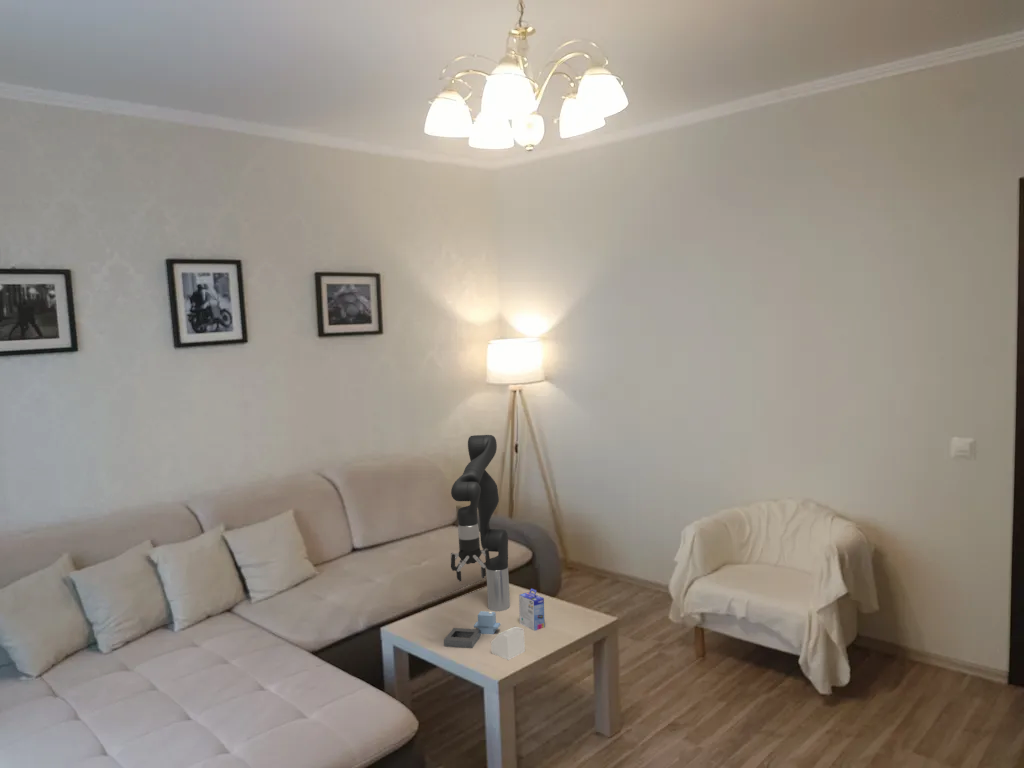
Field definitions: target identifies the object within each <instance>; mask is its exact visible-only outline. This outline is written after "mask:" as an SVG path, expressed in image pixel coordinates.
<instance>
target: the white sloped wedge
mask: <svg viewBox="0 0 1024 768" xmlns="http://www.w3.org/2000/svg"><path fill="white" fill-rule="evenodd" d="M525 644H526V643H525V629H524V628H522V627H518V626H516V625H514V626H512V627H511V628H508V629H506V630H503V631H501V632H499V633H498V634H497V635H496V636H495V637H494V638H493V639H492V640H491V642H490V645H491V646H490V647H491V649H490V650H491V654H492V655H495V656H497V657H500V658H502V659H505V660H506V661H510V660H511V659H513V658H515V657H518V656H520V655H521V654H523V653H525V652H526V651H525V650H526V649H525V648H526V646H525Z"/></svg>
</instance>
